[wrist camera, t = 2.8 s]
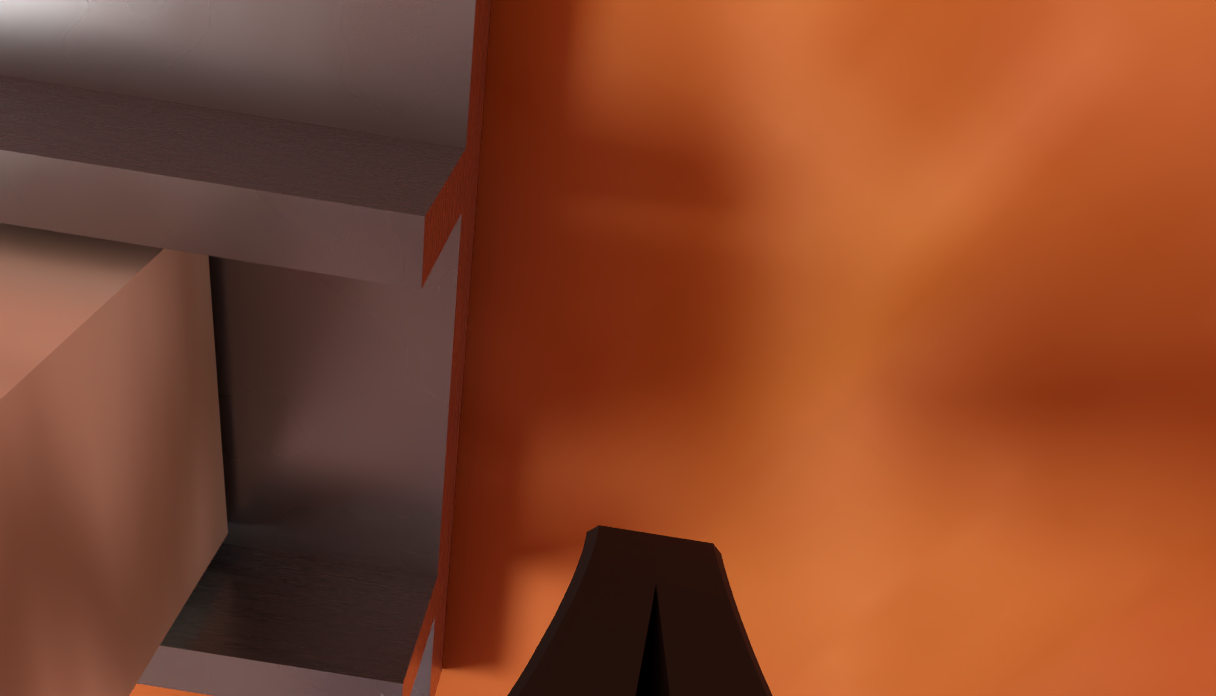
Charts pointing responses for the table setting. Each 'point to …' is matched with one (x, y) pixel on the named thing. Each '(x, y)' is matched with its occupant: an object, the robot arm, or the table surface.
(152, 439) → the block
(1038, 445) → the table surface
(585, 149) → the table surface
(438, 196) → the chute
